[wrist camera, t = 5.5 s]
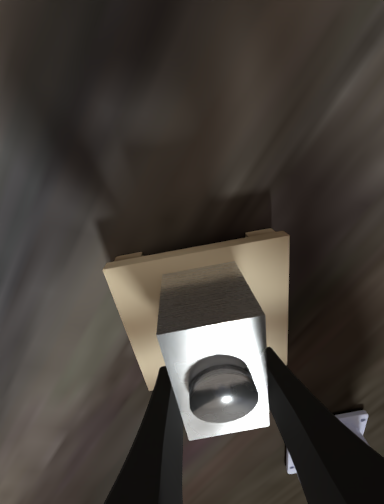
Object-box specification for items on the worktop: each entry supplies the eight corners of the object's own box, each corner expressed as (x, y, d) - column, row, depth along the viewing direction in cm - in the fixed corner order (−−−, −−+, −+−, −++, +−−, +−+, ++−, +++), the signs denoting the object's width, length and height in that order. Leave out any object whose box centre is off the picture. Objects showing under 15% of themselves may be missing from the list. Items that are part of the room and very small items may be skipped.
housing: (234, 261, 12) (272, 326, 7) (243, 352, 15) (274, 440, 10) (162, 274, 12) (155, 348, 7) (185, 363, 15) (190, 456, 10)
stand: (275, 343, 17) (287, 365, 16) (151, 366, 17) (149, 390, 16) (273, 224, 13) (289, 235, 12) (112, 253, 13) (102, 269, 12)
